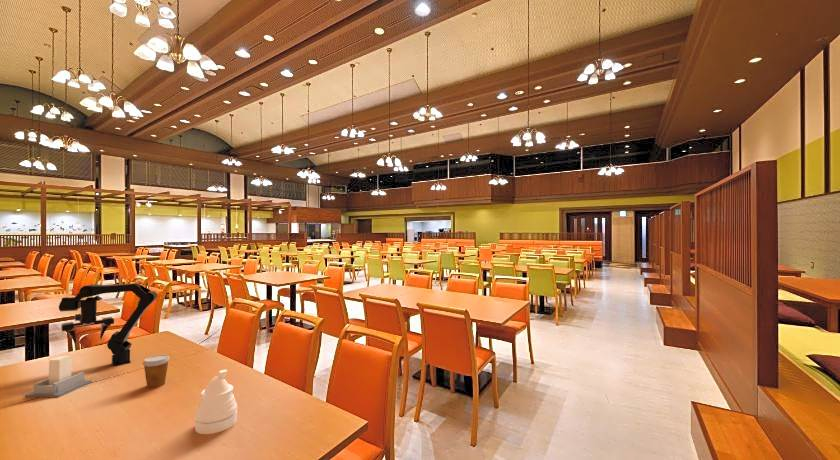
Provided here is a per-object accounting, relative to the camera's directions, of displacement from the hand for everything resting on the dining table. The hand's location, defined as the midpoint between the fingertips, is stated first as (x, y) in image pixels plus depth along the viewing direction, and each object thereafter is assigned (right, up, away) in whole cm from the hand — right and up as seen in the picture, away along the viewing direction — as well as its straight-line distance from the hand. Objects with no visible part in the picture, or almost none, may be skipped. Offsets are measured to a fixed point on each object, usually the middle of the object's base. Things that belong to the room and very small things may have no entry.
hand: (88, 340), depth 172 cm
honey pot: (+95, -13, -50) cm, 108 cm away
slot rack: (+12, -13, -25) cm, 30 cm away
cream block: (+12, -12, -25) cm, 30 cm away
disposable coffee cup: (+50, -13, -20) cm, 55 cm away
